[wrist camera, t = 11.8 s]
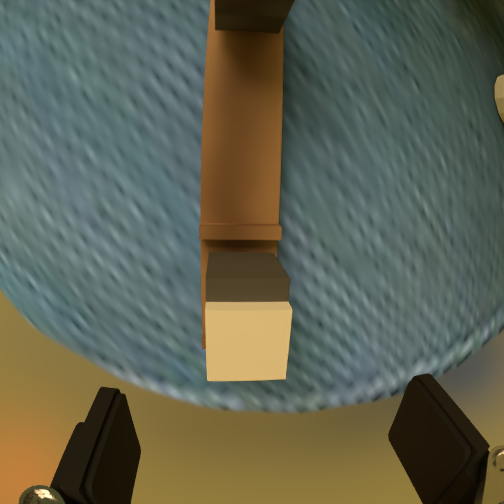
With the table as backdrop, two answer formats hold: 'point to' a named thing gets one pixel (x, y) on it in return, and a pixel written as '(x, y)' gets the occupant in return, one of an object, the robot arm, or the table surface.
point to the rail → (242, 130)
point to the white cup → (499, 95)
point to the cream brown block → (246, 317)
